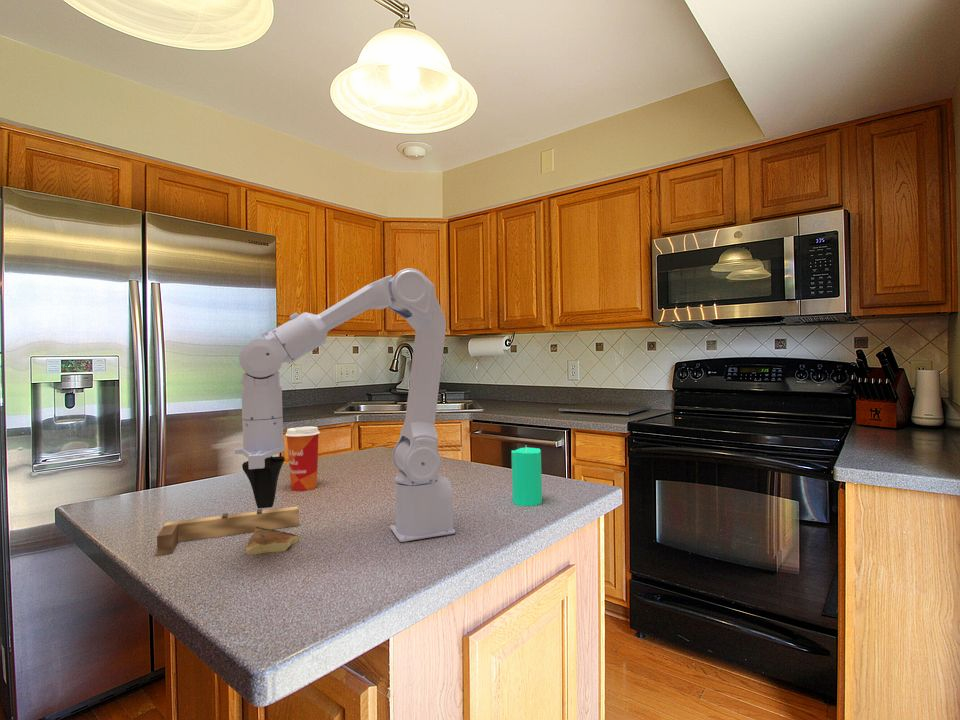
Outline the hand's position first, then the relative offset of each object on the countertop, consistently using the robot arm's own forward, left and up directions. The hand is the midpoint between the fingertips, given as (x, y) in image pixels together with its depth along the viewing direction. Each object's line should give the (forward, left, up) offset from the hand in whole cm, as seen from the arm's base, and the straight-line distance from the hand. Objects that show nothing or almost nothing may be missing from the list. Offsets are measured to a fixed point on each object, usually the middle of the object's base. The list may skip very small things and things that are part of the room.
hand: (265, 506), depth 79 cm
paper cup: (-8, -42, -8) cm, 43 cm away
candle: (-49, -8, -8) cm, 50 cm away
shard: (+1, -5, -8) cm, 10 cm away
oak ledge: (+5, -11, -7) cm, 14 cm away
